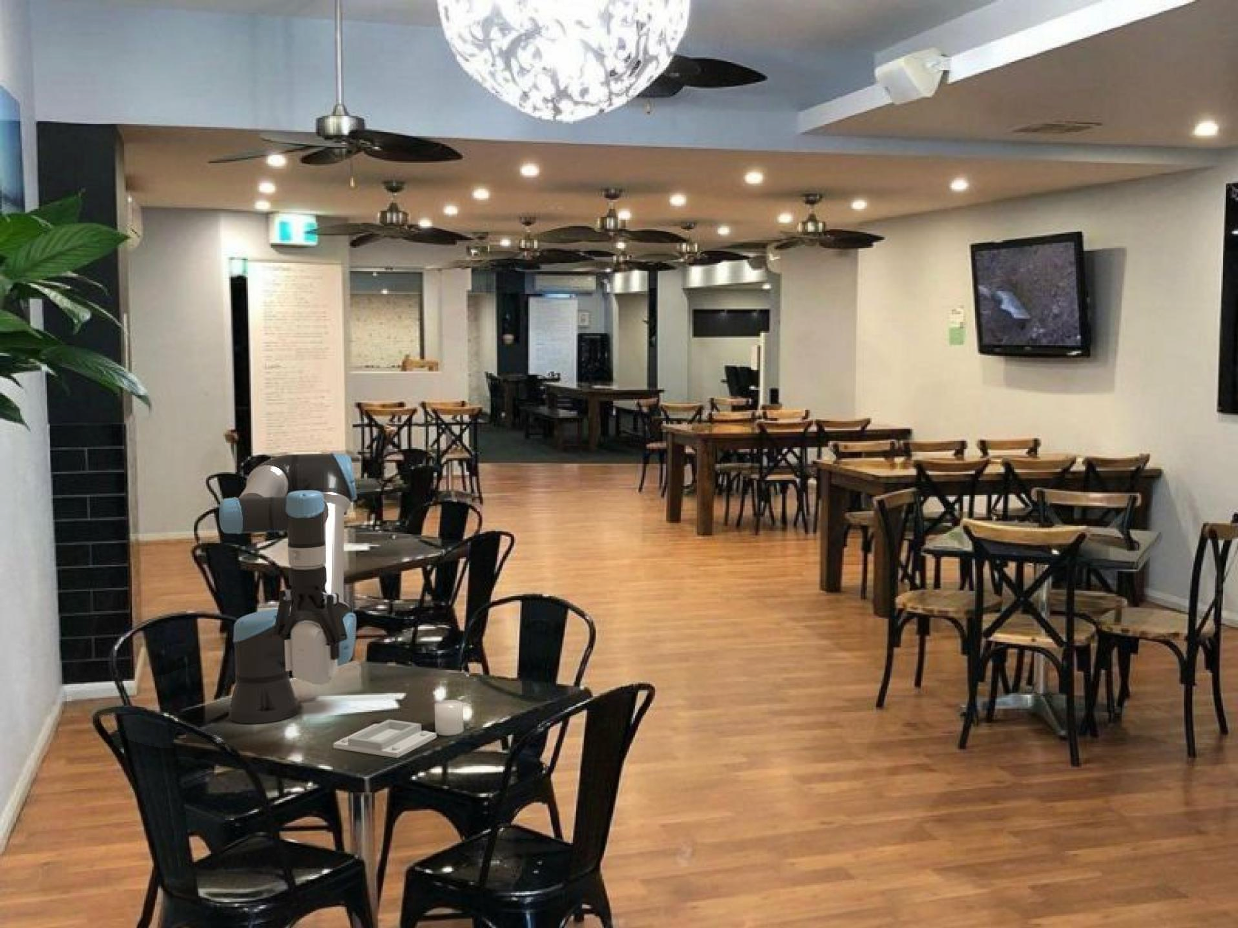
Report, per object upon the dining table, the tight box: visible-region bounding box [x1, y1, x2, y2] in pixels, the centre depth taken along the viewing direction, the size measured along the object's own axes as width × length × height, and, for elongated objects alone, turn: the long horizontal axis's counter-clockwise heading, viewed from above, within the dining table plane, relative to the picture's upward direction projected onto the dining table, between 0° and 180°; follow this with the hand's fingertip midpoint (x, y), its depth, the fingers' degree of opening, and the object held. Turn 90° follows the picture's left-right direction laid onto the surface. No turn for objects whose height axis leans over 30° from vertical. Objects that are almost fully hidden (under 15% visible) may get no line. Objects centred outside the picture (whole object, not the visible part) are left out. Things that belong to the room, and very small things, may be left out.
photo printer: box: [291, 621, 332, 686], centre depth 247 cm, size 10×4×12 cm, turn 47°
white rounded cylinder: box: [434, 699, 464, 736], centre depth 257 cm, size 6×6×6 cm
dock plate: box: [332, 719, 437, 758], centre depth 249 cm, size 16×14×2 cm
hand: (311, 671), depth 247 cm, fingers closed on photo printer, 10 cm apart
